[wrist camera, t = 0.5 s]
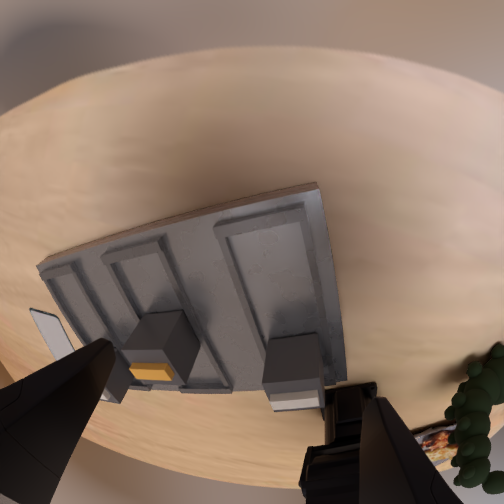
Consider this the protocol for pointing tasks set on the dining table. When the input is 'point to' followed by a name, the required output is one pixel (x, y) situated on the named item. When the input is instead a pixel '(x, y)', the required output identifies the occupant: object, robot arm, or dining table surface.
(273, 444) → the dining table surface
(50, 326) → the smartphone
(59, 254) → the panel
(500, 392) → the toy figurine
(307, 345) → the block
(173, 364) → the breaker mid
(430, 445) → the food plate
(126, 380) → the breaker
